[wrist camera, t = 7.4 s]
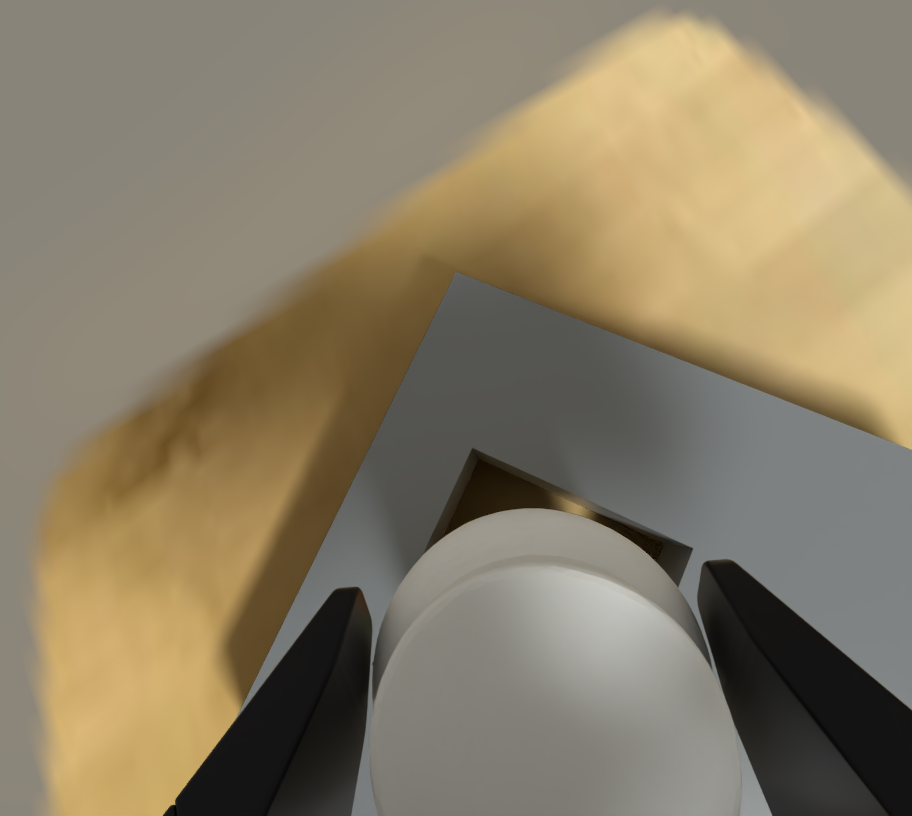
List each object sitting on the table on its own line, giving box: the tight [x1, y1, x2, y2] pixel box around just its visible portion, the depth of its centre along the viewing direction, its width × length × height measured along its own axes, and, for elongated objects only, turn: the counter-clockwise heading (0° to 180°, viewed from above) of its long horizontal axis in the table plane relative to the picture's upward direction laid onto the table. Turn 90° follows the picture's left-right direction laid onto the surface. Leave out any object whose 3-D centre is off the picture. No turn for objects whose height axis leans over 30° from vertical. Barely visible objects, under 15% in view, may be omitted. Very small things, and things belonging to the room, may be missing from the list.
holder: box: [236, 272, 912, 816], centre depth 16 cm, size 16×16×3 cm
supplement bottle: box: [369, 508, 742, 816], centre depth 10 cm, size 5×5×10 cm
